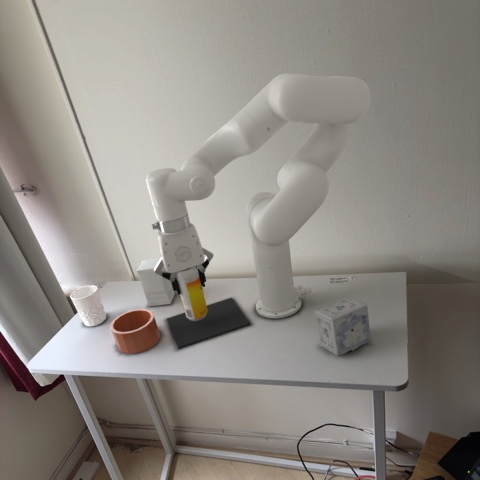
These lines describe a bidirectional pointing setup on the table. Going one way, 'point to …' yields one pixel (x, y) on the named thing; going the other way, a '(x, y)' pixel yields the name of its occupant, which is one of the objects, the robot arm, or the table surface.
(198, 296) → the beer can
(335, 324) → the incense holder
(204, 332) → the mat
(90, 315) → the white cup
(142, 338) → the pot
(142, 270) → the white packaging box
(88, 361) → the table surface
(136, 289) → the table surface
